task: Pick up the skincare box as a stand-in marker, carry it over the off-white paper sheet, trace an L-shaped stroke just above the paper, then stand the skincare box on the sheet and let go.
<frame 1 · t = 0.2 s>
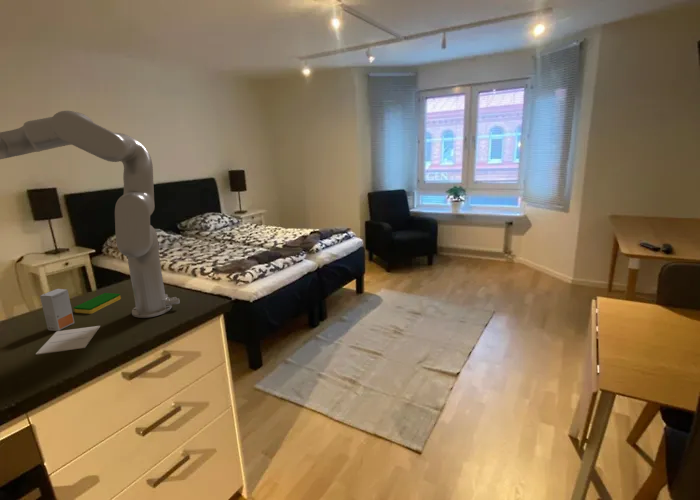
paper: (70, 339, 114), on the countertop
skincare box: (62, 327, 123), on the countertop
dish sponge: (99, 306, 139), on the countertop
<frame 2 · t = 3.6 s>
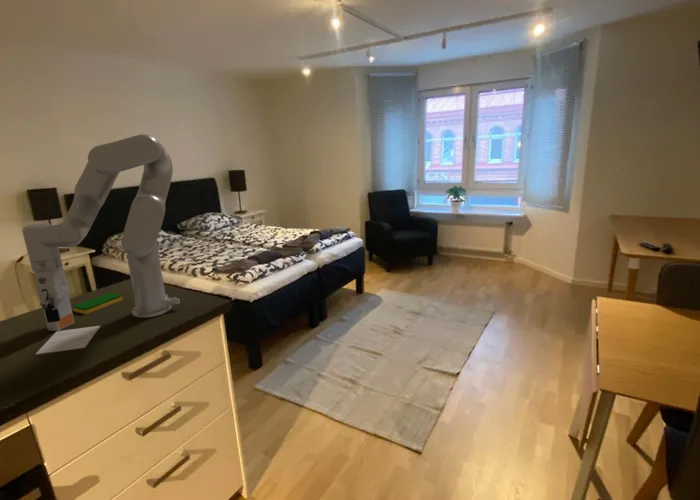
hand: (59, 315, 122), 4 cm above the countertop, fingers closed on skincare box, 7 cm apart
skincare box: (62, 327, 123), on the countertop, touching gripper
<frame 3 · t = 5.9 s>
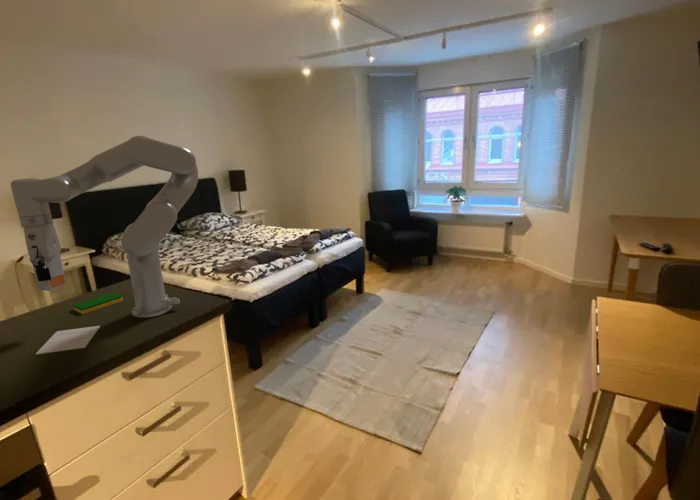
hand: (50, 275, 118), 17 cm above the countertop, fingers closed on skincare box, 7 cm apart
skincare box: (53, 288, 119), point 13 cm above the countertop, touching gripper
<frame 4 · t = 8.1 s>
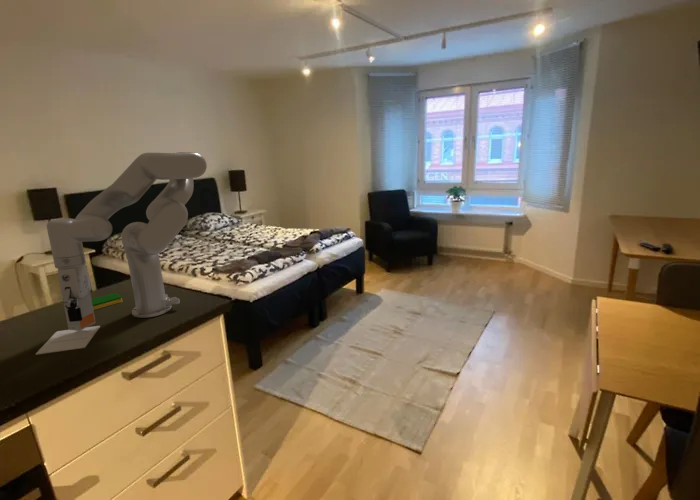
hand: (80, 315, 117), 6 cm above the countertop, fingers closed on skincare box, 7 cm apart
skincare box: (83, 327, 118), point 2 cm above the countertop, touching gripper
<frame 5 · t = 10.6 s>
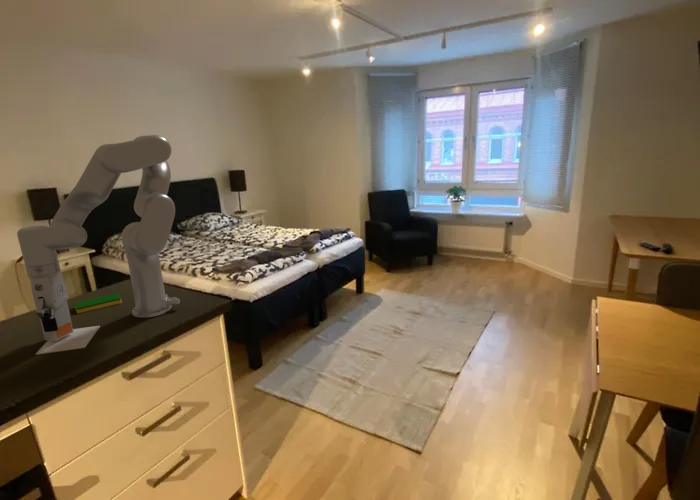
hand: (57, 324, 113), 5 cm above the countertop, fingers closed on skincare box, 7 cm apart
skincare box: (60, 336, 115), point 1 cm above the countertop, touching gripper
when the fingers open (4 cm above the countertop, at t = 12.7 s): skincare box stays where it is, resting on paper.
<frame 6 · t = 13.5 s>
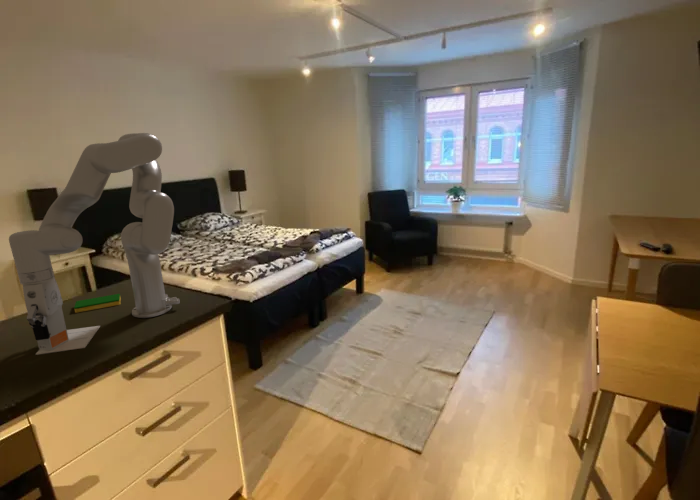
hand: (50, 331, 109), 5 cm above the countertop, fingers open, 9 cm apart
skincare box: (55, 345, 111), resting on paper
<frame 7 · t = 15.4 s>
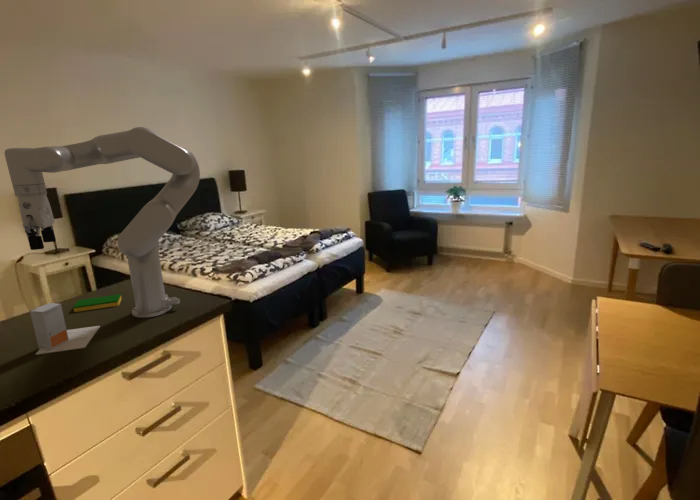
hand: (44, 245, 118), 27 cm above the countertop, fingers open, 9 cm apart
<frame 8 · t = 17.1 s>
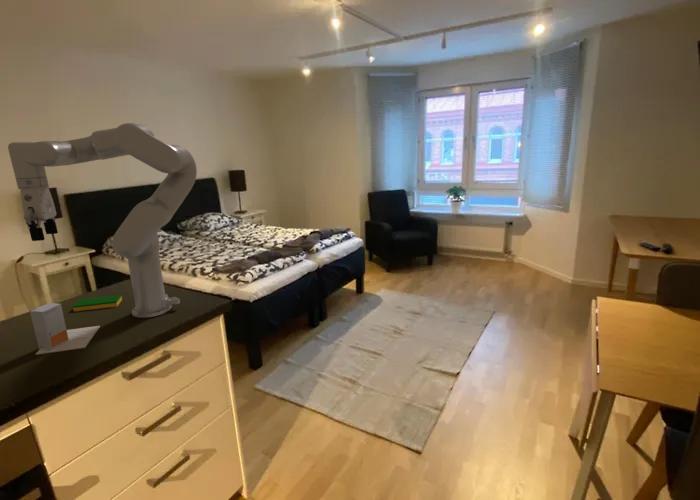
hand: (45, 237, 122), 28 cm above the countertop, fingers open, 9 cm apart
at the end: skincare box inside the target area on the paper (4.0 cm from its centre), point 0.1 cm above the paper's base; skincare box tilted 0°; the gripper is holding nothing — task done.
